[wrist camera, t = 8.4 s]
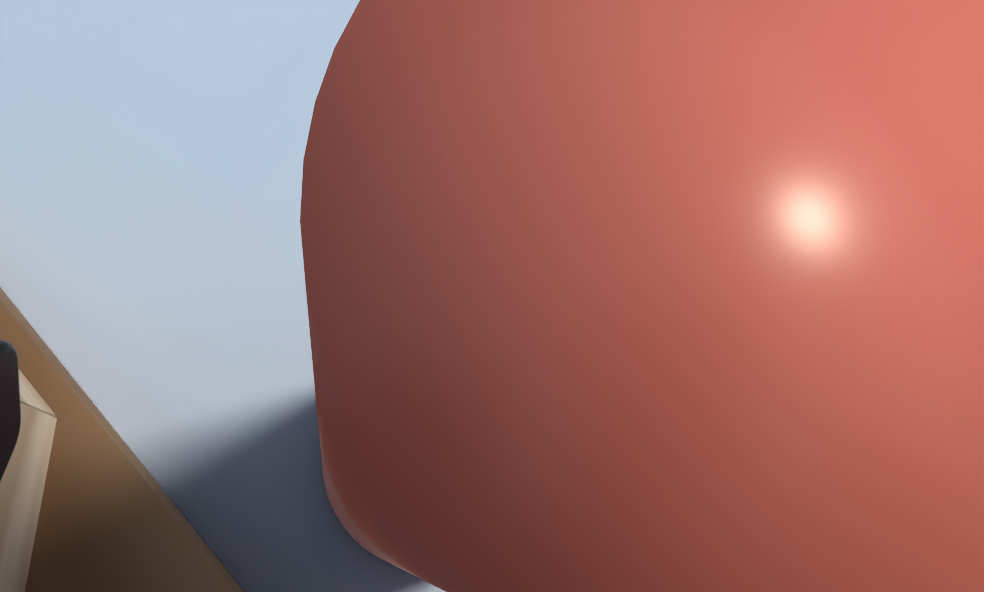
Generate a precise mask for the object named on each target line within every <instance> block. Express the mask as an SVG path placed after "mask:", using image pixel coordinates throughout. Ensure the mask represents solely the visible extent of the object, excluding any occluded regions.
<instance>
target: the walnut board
mask: <svg viewBox="0 0 984 592" xmlns="http://www.w3.org/2000/svg"><path fill="white" fill-rule="evenodd" d="M0 340H6V341H9V342H10V343H11V344H12V345H13V346H14V347H15V349H16V352H17V355H18V367H19V386H20V405H21V425H20V431H19V436H18V440H17V443H16V446H15V448H14V451H13V453H12V455H11V458H10V460H9V463H8V465H7V467H6V470H5V472H4V475H3V477H2V479H1V482H0V592H245V591H244V590H243V589H242V588H241V586H240V585H239V584H238V583H237V581H236V580H235V579H234V578H233V577H232V575H231V574H230V573H229V572H228V570H227V569H226V568H225V567H224V565H223V564H222V563H221V562H220V560H219V559H218V558H217V557H216V555H215V554H214V553H213V552H212V550H211V549H210V548H209V547H208V545H207V544H206V543H205V542H204V540H203V539H202V538H201V537H200V535H199V534H198V533H197V532H196V530H195V529H194V528H193V527H192V525H191V524H190V523H189V522H188V521H187V519H186V518H185V517H184V516H183V514H182V513H181V512H180V511H179V509H178V508H177V507H176V506H175V504H174V503H173V502H172V501H171V499H170V498H169V497H168V496H167V494H166V493H165V492H164V491H163V489H162V488H161V487H160V486H159V484H158V483H157V482H156V481H155V479H154V478H153V477H152V476H151V474H150V473H149V472H148V471H147V469H146V468H145V467H144V466H143V464H142V463H141V462H140V461H139V460H138V458H137V457H136V456H135V455H134V453H133V452H132V451H131V450H130V448H129V447H128V446H127V445H126V443H125V442H124V441H123V440H122V438H121V437H120V436H119V435H118V433H117V432H116V431H115V430H114V428H113V427H112V426H111V425H110V423H109V422H108V421H107V420H106V418H105V417H104V416H103V415H102V413H101V412H100V411H99V410H98V408H97V407H96V406H95V405H94V404H93V402H92V401H91V400H90V399H89V397H88V396H87V395H86V394H85V392H84V391H83V390H82V389H81V387H80V386H79V385H78V384H77V382H76V381H75V380H74V379H73V377H72V376H71V375H70V374H69V372H68V371H67V370H66V369H65V367H64V366H63V365H62V364H61V362H60V361H59V360H58V359H57V357H56V356H55V355H54V354H53V352H52V351H51V350H50V349H49V348H48V346H47V345H46V344H45V343H44V341H43V340H42V339H41V338H40V336H39V335H38V334H37V333H36V331H35V330H34V329H33V328H32V326H31V325H30V324H29V323H28V321H27V320H26V319H25V318H24V316H23V315H22V314H21V313H20V311H19V310H18V309H17V308H16V306H15V305H14V304H13V303H12V301H11V300H10V299H9V298H8V296H7V295H6V294H5V293H4V292H3V290H2V289H1V288H0Z"/></svg>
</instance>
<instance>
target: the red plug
mask: <svg viewBox="0 0 984 592" xmlns="http://www.w3.org/2000/svg"><path fill="white" fill-rule="evenodd" d="M300 224H301V235H302V247H303V259H304V271H305V282H306V293H307V304H308V315H309V326H310V338H311V349H312V360H313V371H314V382H315V393H316V404H317V415H318V426H319V437H320V448H321V459H322V470H323V480H324V484H325V489H326V493H327V496H328V499H329V502H330V504H331V507H332V509H333V511H334V513H335V515H336V516H337V518H338V520H339V521H340V523H341V524H342V526H343V527H344V529H345V530H346V531H347V532H348V533H349V535H350V536H351V537H352V538H353V539H354V540H355V541H356V542H357V543H358V544H360V545H361V546H362V547H363V548H364V549H366V550H367V551H368V552H370V553H372V554H373V555H375V556H377V557H378V558H380V559H382V560H384V561H386V562H388V563H390V564H392V565H394V566H396V567H398V568H400V569H402V570H404V571H406V572H408V573H410V574H412V575H414V576H416V577H418V578H420V579H422V580H424V581H426V582H428V583H430V584H432V585H434V586H436V587H438V588H440V589H442V590H444V591H446V592H984V0H360V2H359V3H358V5H357V7H356V9H355V11H354V13H353V15H352V17H351V18H350V20H349V22H348V24H347V26H346V28H345V30H344V32H343V33H342V35H341V37H340V39H339V41H338V43H337V45H336V47H335V48H334V51H333V54H332V57H331V60H330V62H329V65H328V68H327V71H326V74H325V76H324V79H323V82H322V85H321V88H320V90H319V93H318V96H317V99H316V102H315V106H314V111H313V116H312V121H311V126H310V131H309V136H308V141H307V146H306V151H305V156H304V162H303V180H302V199H301V217H300Z"/></svg>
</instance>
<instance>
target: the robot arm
mask: <svg viewBox="0 0 984 592" xmlns="http://www.w3.org/2000/svg"><path fill="white" fill-rule="evenodd" d="M20 425H21V405H20V386H19V367H18V355H17V352H16V349H15V347H14V346H13V345H12V344H11V343H10V342H9V341H6V340H0V482H1V479H2V477H3V475H4V472H5V470H6V467H7V465H8V463H9V460H10V458H11V455H12V453H13V451H14V448H15V446H16V443H17V440H18V436H19V431H20Z"/></svg>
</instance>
